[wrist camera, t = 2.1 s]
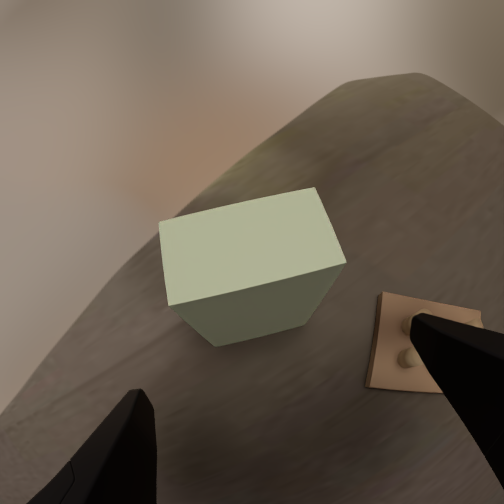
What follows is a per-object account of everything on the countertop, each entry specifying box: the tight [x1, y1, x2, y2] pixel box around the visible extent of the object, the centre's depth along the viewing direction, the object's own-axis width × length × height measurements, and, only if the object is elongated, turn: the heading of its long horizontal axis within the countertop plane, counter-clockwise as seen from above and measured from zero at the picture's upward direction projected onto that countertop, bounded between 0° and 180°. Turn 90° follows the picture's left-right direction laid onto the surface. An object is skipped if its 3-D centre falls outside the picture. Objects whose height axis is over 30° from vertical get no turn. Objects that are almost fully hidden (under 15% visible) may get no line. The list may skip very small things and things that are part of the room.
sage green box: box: [159, 187, 347, 347], centre depth 16 cm, size 6×4×11 cm, turn 104°
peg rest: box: [365, 292, 483, 393], centre depth 17 cm, size 7×10×3 cm
